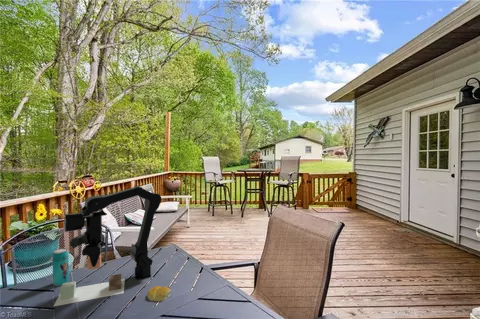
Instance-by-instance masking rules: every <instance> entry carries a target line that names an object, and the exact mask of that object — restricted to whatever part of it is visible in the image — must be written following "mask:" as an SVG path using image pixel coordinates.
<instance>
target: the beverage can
mask: <svg viewBox="0 0 480 319" xmlns="http://www.w3.org/2000/svg"><path fill="white" fill-rule="evenodd" d="M52 253H53V254H52V284H53V285H54V286H55V287H58V286H60V287H61V286H62V284H63V283H68V282H69V280H70V279H69V278H70V277H69V274H70V273H69V272H70V271H69V269H70V268H69V267H70V266H69V251H68V248H58V249H56V250H54V251H53V252H52Z"/></svg>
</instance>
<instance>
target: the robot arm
mask: <svg viewBox="0 0 480 319" xmlns="http://www.w3.org/2000/svg"><path fill="white" fill-rule="evenodd" d="M137 196H138V197H139V198H141V199H143V200H144V203H143V204H144V213H143V217H142V222H141V224H140V225H141V226H140V229H139V233H138V238H137V241H136V242H135V244H133V243H131V248H130V250H129V254H130V258H131V260H133V261H134V262H135V267H134V279H135V280H137V281H140V280H143V279H144V280H145V279H151V278H152V270H151V269H152V265H153V259H151V257H149V256H148V254H149V247H148V245H149V244H148V241H149V237H150V233H151V230H152V227H153V226H152V225H153V222H154V217H155V213H157V212H156V211H157V210H158V209H159V207H160V206H161V202H162V197H161V194H159V193H155V192H151V191H149V190H147V189H144V188H143V187H141V186H137V185H136V186H134V187H131V188H127V189H124V190H120V191H116V192H113V193H110V194H105V195H104V194H103V195H93V196H89V197H87V198H86V199H85V200H84V205H83V207H82V208H81V209H80V210H79V212H76V213H65V214H64V221H63V230H64V233H68V232H73V231H80V230H82V228H85V231H84V233H82V234H79V235H77V236H75V237H72V238H71V239H70V240H69V246H70V247H71V248H72V249H76V248H77V247H79V246H81V245H85V246H84V247H83V248H82V250H81V252H82V253H81V255H82V256H83V257H84V256H87V257H88V256H89V258H90V261H91V264H92V267H95V266H96V264H97V261H98V258H99V256H100V253H101V254H102V250H103V247H104V244H105V243H104V242H105V241H106V240H105V238H106V237H105V235H104V234H103V227H102V226H103V225H102V222H103V219H102V217H104V216H107V215H108V214H107V213H106V211H104V209H105V208H107V207H109V206H110V205H113V204H115V203H118V202H122V201H124V200H128V199H130V198H131V199H132V198H133V197H137Z"/></svg>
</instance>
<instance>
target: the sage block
mask: <svg viewBox="0 0 480 319" xmlns="http://www.w3.org/2000/svg"><path fill="white" fill-rule="evenodd" d="M76 288H77V281H68V282H67V283H63V284H62V285H60V288H59V295H60V300H63V299H68V298H74V296H75V293H76Z"/></svg>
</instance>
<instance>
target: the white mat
mask: <svg viewBox="0 0 480 319" xmlns="http://www.w3.org/2000/svg"><path fill="white" fill-rule="evenodd" d="M125 281H126V279H125V278H123V279H121V289H117V290H112V291H109V281H107V282H101V283H95V284H89V285H84V286H78V287H77V286H76V293H75V296H74V298H68V299H63V300H60V294H59V295H58V297H57V299H56V301H55V302H54V305H52V306H53V307H58V306H63V305H70V304H75V303H79V302H83V301H84V302H85V301H89V300H95V299H101V298H105V297H111V296H116V295H120V294H125V293H124V292H125Z"/></svg>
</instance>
